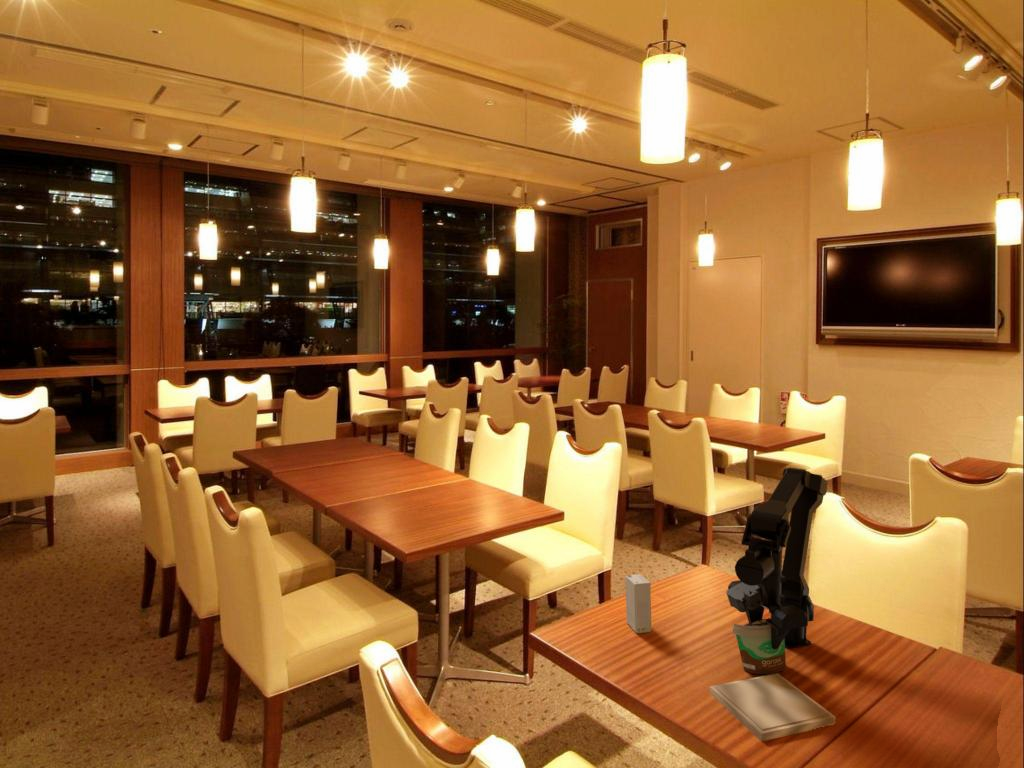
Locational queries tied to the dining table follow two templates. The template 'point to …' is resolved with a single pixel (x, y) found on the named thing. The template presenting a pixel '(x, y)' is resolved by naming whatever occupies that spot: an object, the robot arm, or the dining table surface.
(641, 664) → the dining table surface
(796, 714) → the serving board
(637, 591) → the skincare box
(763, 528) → the robot arm
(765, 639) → the food container
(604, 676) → the dining table surface
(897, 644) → the dining table surface
